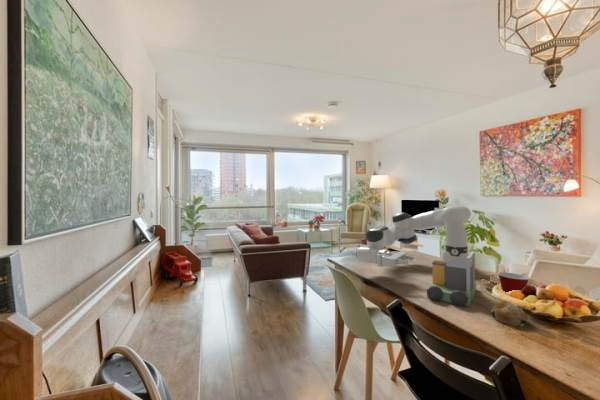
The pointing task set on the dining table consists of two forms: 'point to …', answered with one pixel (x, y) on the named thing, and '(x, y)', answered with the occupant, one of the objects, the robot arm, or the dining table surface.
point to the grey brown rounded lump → (509, 314)
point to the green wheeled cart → (456, 283)
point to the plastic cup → (512, 281)
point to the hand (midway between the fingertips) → (410, 260)
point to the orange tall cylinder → (439, 272)
